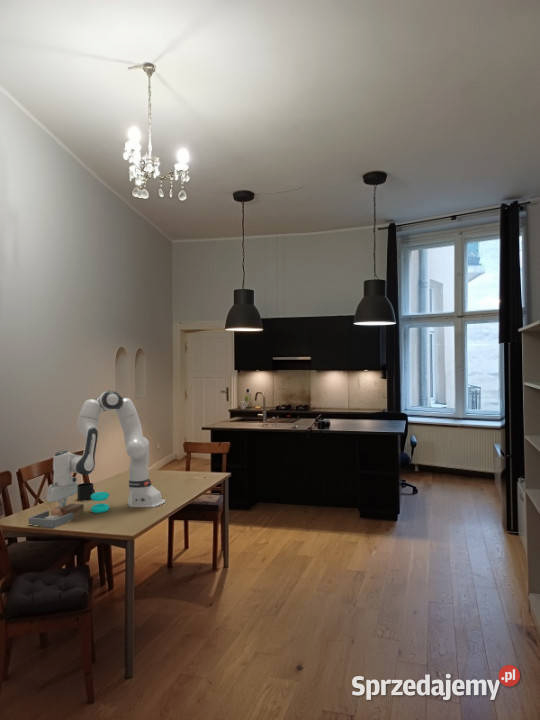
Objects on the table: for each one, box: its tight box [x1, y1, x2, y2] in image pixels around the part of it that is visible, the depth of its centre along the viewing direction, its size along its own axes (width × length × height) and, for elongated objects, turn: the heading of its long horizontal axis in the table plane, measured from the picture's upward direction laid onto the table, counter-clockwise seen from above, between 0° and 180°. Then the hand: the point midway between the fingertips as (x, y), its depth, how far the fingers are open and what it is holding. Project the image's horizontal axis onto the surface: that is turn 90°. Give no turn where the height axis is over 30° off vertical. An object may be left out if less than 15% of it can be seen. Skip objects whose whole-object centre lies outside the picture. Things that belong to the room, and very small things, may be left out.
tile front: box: [45, 514, 59, 520], centre depth 278 cm, size 5×5×2 cm
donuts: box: [90, 491, 110, 514], centre depth 297 cm, size 10×10×10 cm
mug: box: [76, 482, 96, 501], centre depth 324 cm, size 9×12×9 cm
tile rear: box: [49, 507, 64, 517], centre depth 281 cm, size 5×5×2 cm
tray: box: [28, 510, 74, 529], centre depth 277 cm, size 17×14×4 cm
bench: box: [54, 502, 85, 518], centre depth 289 cm, size 11×12×5 cm
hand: (62, 506), depth 285 cm, fingers closed
